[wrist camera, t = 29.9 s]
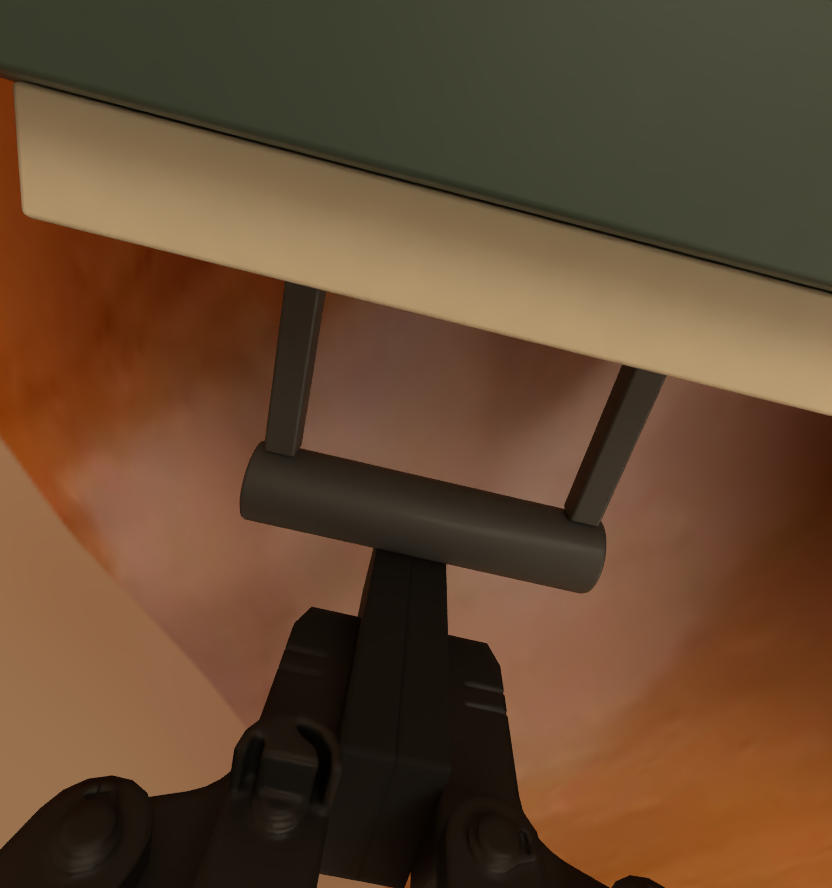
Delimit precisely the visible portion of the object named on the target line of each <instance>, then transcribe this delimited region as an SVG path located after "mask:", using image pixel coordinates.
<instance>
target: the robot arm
mask: <svg viewBox="0 0 832 888" xmlns="http://www.w3.org/2000/svg"><path fill="white" fill-rule="evenodd" d="M503 691H504V689H503V682H502V675H501V668H500V665H499V663H498V662H497V660H496V658H495V656H494V655H493V653H492V651H491V649H490V648H489V646H488V644H487V643H483V642H478V641H474V640H469V639H465V638H460V637H455V636H451V635H448V620H447V583H446V564H445V563H440V562H436V561H431V560H427V559H422V558H418V557H413V556H409V555H404V554H400V553H395V552H391V551H386V550H382V549H377V548H374V549H373V552H372V556H371V560H370V564H369V568H368V572H367V576H366V580H365V584H364V588H363V593H362V598H361V603H360V608H359V612H358V617H357V616H352V615H347V614H343V613H338V612H334V611H329V610H325V609H320V608H316V607H311V608H310V609H309V610H308V611H307V612H306V613H304V614H303V615H302V616H301V617H300V618H299V619H298V620H297V621H296V622H295V623H294V625H293V628H292V631H291V634H290V637H289V639H288V642H287V645H286V649H285V650H284V653H283V656H282V659H281V661H280V664H279V668H278V670H277V673H276V675H275V678H274V681H273V684H272V686H271V689H270V692H269V695H268V697H267V700H266V703H265V706H264V709H263V711H262V714H261V717H260V720H258V721H257V722H256V723H254V724H253V725H252V726H251V727H249V728H248V729H247V730H246V731H245V732H244V734H243V736H242V737H241V739H240V740H239V742H238V743H237V745H236V747H235V749H234V755H233V761H232V768H231V771H230V772H229V773H228V774H227V775H225V776H224V777H223V778H221V779H220V780H218V781H216V782H214V783H212V784H210V785H208V786H206V787H202V788H199V789H195V790H191V791H186V792H180V793H173V794H166V795H159V796H152V797H148V794H147V792H146V791H144V790H143V789H142V788H141V787H140V786H139V785H138V784H136V783H135V782H134V781H133V780H129V779H125V778H121V777H117V776H106V777H98V778H90V779H87V780H84V781H82V782H80V783H78V784H75V785H73V786H71V787H69V788H66V789H64V790H63V791H61V792H60V793H59V794H57V795H56V796H55V797H54V798H53V799H51V800H50V801H49V802H47V803H46V804H45V805H44V806H43V807H41V808H40V809H39V810H38V811H37V812H36V813H35V814H34V815H33V816H32V817H31V818H30V819H29V820H28V821H27V823H25V825H24V826H23V827H22V828H21V829H20V830H19V831H18V832H17V833H16V834H15V835H14V836H13V837H12V838H11V839H10V840H9V841H8V842H7V843H6V844H5V845H4V846H3V847H2V849H0V888H317V883H318V877H319V874H324V875H329V876H335V877H340V878H345V879H351V880H356V881H362V882H367V883H373V884H378V885H383V886H388V887H393V888H404V887H405V885H406V882H407V880H408V877H409V875H410V872H411V883H410V888H609V887H607V886H606V885H604V884H602V883H600V882H599V881H597V880H595V879H594V878H592V877H590V876H588V875H587V874H585V873H583V872H581V871H580V870H578V869H576V868H574V867H573V866H571V865H569V864H568V863H566V862H565V861H563V860H562V859H560V858H559V857H558V856H556V855H555V854H553V853H552V852H551V851H550V850H549V849H548V848H547V847H546V846H545V845H544V844H543V843H542V841H541V840H540V839H539V838H538V835H537V832H536V830H535V829H534V827H533V826H532V824H531V823H530V821H529V820H528V818H527V817H526V815H525V814H524V812H523V809H522V805H521V802H520V798H519V792H518V785H517V779H516V772H515V765H514V758H513V751H512V744H511V737H510V730H509V723H508V717H507V716H506V711H507V710H506V703H505V696H504V695H503ZM612 888H665V887H663V886H661V885H659V884H658V883H656V882H654V881H652V880H651V879H649V878H644V877H638V876H631V875H629V876H627V877H625V878H623V879H620V880H618V881H616V882H615V883H614V885H613V886H612Z"/></svg>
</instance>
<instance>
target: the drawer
mask: <svg viewBox="0 0 832 888" xmlns="http://www.w3.org/2000/svg"><path fill="white" fill-rule="evenodd" d="M13 93H14V106H15V120H16V134H17V147H18V161H19V175H20V188H21V202H22V211H23V213H24V214H25V215H26V216H28V217H30V218H33V219H37V220H41V221H45V222H49V223H53V224H57V225H61V226H65V227H69V228H73V229H77V230H81V231H85V232H89V233H93V234H97V235H102V236H106V237H110V238H114V239H118V240H122V241H126V242H130V243H134V244H138V245H142V246H146V247H150V248H154V249H158V250H162V251H166V252H170V253H174V254H178V255H182V256H186V257H190V258H194V259H198V260H202V261H206V262H211V263H215V264H219V265H223V266H227V267H231V268H235V269H239V270H243V271H247V272H251V273H255V274H259V275H263V276H267V277H271V278H275V279H279V280H283V281H285V285H284V293H283V301H282V309H281V317H280V325H279V333H278V341H277V349H276V357H275V365H274V373H273V381H272V389H271V397H270V405H269V413H268V421H267V429H266V437H265V441H262V442H260V443H259V444H258V446H257V447H256V449H255V450H254V452H253V454H252V456H251V458H250V460H249V463H248V466H247V469H246V472H245V475H244V479H243V483H242V488H241V494H240V514H241V516H242V517H243V518H244V519H246V520H250V521H255V522H259V523H264V524H268V525H273V526H277V527H282V528H286V529H291V530H296V531H300V532H305V533H309V534H314V535H318V536H323V537H327V538H332V539H336V540H341V541H345V542H350V543H354V544H359V545H363V546H368V547H372V548H377V549H382V550H386V551H391V552H395V553H400V554H404V555H409V556H413V557H418V558H422V559H427V560H431V561H436V562H440V563H445V564H449V565H454V566H458V567H463V568H468V569H472V570H477V571H481V572H486V573H490V574H495V575H499V576H504V577H508V578H513V579H517V580H522V581H526V582H531V583H535V584H540V585H544V586H549V587H553V588H558V589H563V590H567V591H572V592H576V593H586V592H589V591H590V590H591V589H592V588H593V587H594V586H595V585H596V583H597V581H598V579H599V577H600V575H601V572H602V569H603V566H604V561H605V556H606V533H605V529H604V526H603V524H602V522H601V519H602V517H603V515H604V513H605V510H606V508H607V506H608V504H609V502H610V499H611V497H612V495H613V493H614V491H615V488H616V486H617V484H618V482H619V479H620V477H621V475H622V473H623V471H624V468H625V466H626V464H627V462H628V460H629V457H630V455H631V453H632V451H633V449H634V446H635V444H636V442H637V440H638V438H639V435H640V433H641V431H642V429H643V426H644V424H645V422H646V420H647V418H648V415H649V413H650V411H651V409H652V407H653V404H654V402H655V400H656V398H657V396H658V393H659V391H660V389H661V387H662V385H663V382H664V380H665V378H666V376H671V377H675V378H679V379H683V380H687V381H691V382H695V383H699V384H703V385H707V386H711V387H715V388H719V389H723V390H727V391H731V392H735V393H739V394H743V395H747V396H751V397H755V398H759V399H764V400H768V401H772V402H776V403H780V404H784V405H788V406H792V407H796V408H800V409H804V410H808V411H812V412H816V413H820V414H824V415H828V416H832V293H831V292H827V291H823V290H819V289H816V288H812V287H808V286H804V285H800V284H797V283H793V282H789V281H785V280H781V279H777V278H774V277H770V276H766V275H762V274H758V273H755V272H751V271H747V270H743V269H739V268H735V267H732V266H728V265H724V264H720V263H716V262H713V261H709V260H705V259H701V258H697V257H693V256H690V255H686V254H682V253H678V252H674V251H671V250H667V249H663V248H659V247H655V246H651V245H648V244H644V243H640V242H636V241H632V240H629V239H625V238H621V237H617V236H613V235H609V234H606V233H602V232H598V231H594V230H590V229H587V228H583V227H579V226H575V225H571V224H568V223H564V222H560V221H556V220H552V219H548V218H545V217H541V216H537V215H533V214H529V213H526V212H522V211H518V210H514V209H510V208H506V207H503V206H499V205H495V204H491V203H487V202H484V201H480V200H476V199H472V198H468V197H464V196H461V195H457V194H453V193H449V192H445V191H442V190H438V189H434V188H430V187H426V186H422V185H419V184H415V183H411V182H407V181H403V180H400V179H396V178H392V177H388V176H384V175H380V174H377V173H373V172H369V171H365V170H361V169H358V168H354V167H350V166H346V165H342V164H338V163H335V162H331V161H327V160H323V159H319V158H316V157H312V156H308V155H304V154H300V153H296V152H293V151H289V150H285V149H281V148H277V147H274V146H270V145H266V144H262V143H258V142H254V141H251V140H247V139H243V138H239V137H235V136H232V135H228V134H224V133H220V132H216V131H213V130H209V129H205V128H201V127H197V126H193V125H190V124H186V123H182V122H178V121H174V120H171V119H167V118H163V117H159V116H155V115H151V114H148V113H144V112H140V111H136V110H132V109H129V108H125V107H121V106H117V105H113V104H109V103H106V102H102V101H98V100H94V99H90V98H87V97H83V96H79V95H75V94H71V93H67V92H64V91H60V90H56V89H52V88H48V87H45V86H41V85H37V84H33V83H29V82H25V81H22V80H21V81H16V82H14V85H13ZM326 291H328V292H332V293H336V294H340V295H344V296H348V297H352V298H356V299H360V300H364V301H368V302H372V303H376V304H380V305H384V306H388V307H392V308H396V309H400V310H404V311H408V312H412V313H416V314H420V315H424V316H428V317H433V318H437V319H441V320H445V321H449V322H453V323H457V324H461V325H465V326H469V327H473V328H477V329H481V330H485V331H489V332H493V333H497V334H501V335H505V336H509V337H513V338H517V339H521V340H525V341H529V342H533V343H537V344H542V345H546V346H550V347H554V348H558V349H562V350H566V351H570V352H574V353H578V354H582V355H586V356H590V357H594V358H598V359H602V360H606V361H610V362H614V363H618V364H622V367H621V369H620V371H619V374H618V376H617V379H616V381H615V383H614V386H613V388H612V391H611V393H610V396H609V398H608V400H607V403H606V405H605V408H604V410H603V413H602V415H601V417H600V420H599V422H598V425H597V427H596V430H595V432H594V434H593V437H592V439H591V442H590V444H589V447H588V449H587V451H586V454H585V456H584V459H583V461H582V464H581V466H580V468H579V471H578V473H577V476H576V478H575V481H574V483H573V485H572V488H571V490H570V493H569V495H568V497H567V500H566V502H565V505H564V507H565V509H562V508H557V507H553V506H549V505H544V504H540V503H536V502H531V501H527V500H523V499H518V498H514V497H510V496H505V495H501V494H497V493H492V492H488V491H483V490H479V489H475V488H470V487H466V486H462V485H457V484H453V483H449V482H444V481H440V480H436V479H431V478H427V477H423V476H418V475H414V474H410V473H405V472H401V471H397V470H392V469H388V468H383V467H379V466H375V465H370V464H366V463H362V462H357V461H353V460H349V459H344V458H340V457H336V456H331V455H327V454H323V453H318V452H314V451H310V450H305V449H301V448H300V446H301V444H302V438H303V432H304V426H305V419H306V413H307V407H308V401H309V394H310V388H311V382H312V375H313V369H314V363H315V356H316V350H317V344H318V337H319V331H320V325H321V318H322V312H323V306H324V299H325V293H326Z"/></svg>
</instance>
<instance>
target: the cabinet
mask: <svg viewBox="0 0 832 888" xmlns="http://www.w3.org/2000/svg"><path fill="white" fill-rule="evenodd" d="M0 77H1V78H4V79H7V80H11V81H14V82H16V81H21V80H22V81H25V82H29V83H33V84H37V85H41V86H45V87H48V88H52V89H56V90H60V91H64V92H67V93H71V94H75V95H79V96H83V97H87V98H90V99H94V100H98V101H102V102H106V103H109V104H113V105H117V106H121V107H125V108H129V109H132V110H136V111H140V112H144V113H148V114H151V115H155V116H159V117H163V118H167V119H171V120H174V121H178V122H182V123H186V124H190V125H193V126H197V127H201V128H205V129H209V130H213V131H216V132H220V133H224V134H228V135H232V136H235V137H239V138H243V139H247V140H251V141H254V142H258V143H262V144H266V145H270V146H274V147H277V148H281V149H285V150H289V151H293V152H296V153H300V154H304V155H308V156H312V157H316V158H319V159H323V160H327V161H331V162H335V163H338V164H342V165H346V166H350V167H354V168H358V169H361V170H365V171H369V172H373V173H377V174H380V175H384V176H388V177H392V178H396V179H400V180H403V181H407V182H411V183H415V184H419V185H422V186H426V187H430V188H434V189H438V190H442V191H445V192H449V193H453V194H457V195H461V196H464V197H468V198H472V199H476V200H480V201H484V202H487V203H491V204H495V205H499V206H503V207H506V208H510V209H514V210H518V211H522V212H526V213H529V214H533V215H537V216H541V217H545V218H548V219H552V220H556V221H560V222H564V223H568V224H571V225H575V226H579V227H583V228H587V229H590V230H594V231H598V232H602V233H606V234H609V235H613V236H617V237H621V238H625V239H629V240H632V241H636V242H640V243H644V244H648V245H651V246H655V247H659V248H663V249H667V250H671V251H674V252H678V253H682V254H686V255H690V256H693V257H697V258H701V259H705V260H709V261H713V262H716V263H720V264H724V265H728V266H732V267H735V268H739V269H743V270H747V271H751V272H755V273H758V274H762V275H766V276H770V277H774V278H777V279H781V280H785V281H789V282H793V283H797V284H800V285H804V286H808V287H812V288H816V289H819V290H823V291H827V292H831V293H832V0H0Z"/></svg>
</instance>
